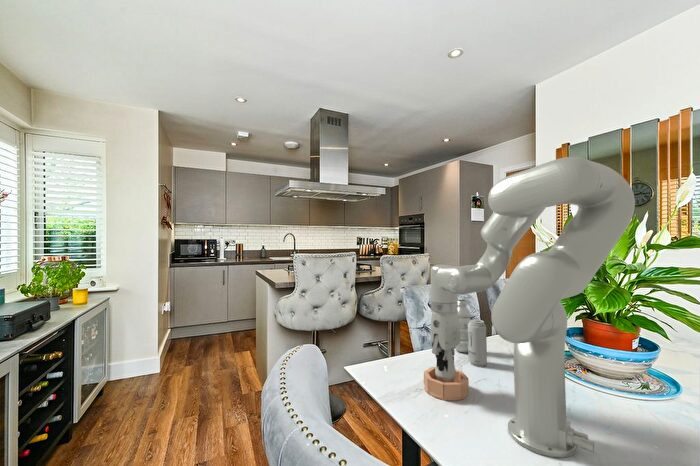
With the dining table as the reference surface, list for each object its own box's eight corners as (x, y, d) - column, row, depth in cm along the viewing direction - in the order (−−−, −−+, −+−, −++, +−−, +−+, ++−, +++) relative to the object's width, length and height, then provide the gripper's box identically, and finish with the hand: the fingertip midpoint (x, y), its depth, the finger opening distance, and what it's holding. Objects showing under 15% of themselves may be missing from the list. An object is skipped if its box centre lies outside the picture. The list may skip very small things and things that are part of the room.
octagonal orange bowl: (474, 389, 87) (474, 374, 87) (456, 406, 78) (455, 389, 78) (437, 377, 95) (437, 363, 95) (416, 390, 87) (416, 375, 87)
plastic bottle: (474, 354, 114) (473, 301, 115) (457, 354, 114) (455, 302, 115) (468, 348, 121) (467, 298, 121) (451, 348, 121) (450, 298, 122)
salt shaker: (457, 386, 83) (456, 339, 84) (436, 385, 85) (435, 338, 85) (454, 377, 89) (453, 333, 90) (434, 376, 90) (433, 332, 91)
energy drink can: (465, 360, 108) (464, 318, 109) (482, 360, 109) (481, 318, 109) (473, 367, 102) (472, 323, 103) (490, 367, 103) (489, 323, 103)
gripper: (442, 314, 79) (444, 384, 78) (468, 304, 91) (470, 366, 90) (418, 309, 84) (419, 375, 84) (445, 301, 96) (446, 359, 95)
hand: (445, 370), depth 87 cm, fingers closed on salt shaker, 3 cm apart
